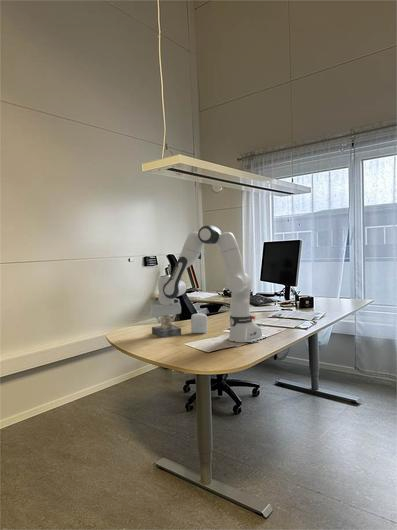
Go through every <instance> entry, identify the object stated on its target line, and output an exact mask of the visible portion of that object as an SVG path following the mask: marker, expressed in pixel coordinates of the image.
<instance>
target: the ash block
mask: <svg viewBox="0 0 397 530" xmlns="http://www.w3.org/2000/svg"><path fill="white" fill-rule="evenodd" d="M160 320H161V323H160V326H161V328H163V329H168V328H172V325H173V324H172V321H171V317H169V316H168V317H160ZM171 324H172V325H171Z"/></svg>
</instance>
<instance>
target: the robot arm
mask: <svg viewBox="0 0 397 530" xmlns="http://www.w3.org/2000/svg"><path fill="white" fill-rule="evenodd" d="M206 244H207V245H217V246H218V247H217V248H219V251H220V255H221V259H222V262H223V265H224V271H225V279H226V287H227V289H228V291H229V292H231V297H230V303H229V304H230V307H229V309H230V315H229V323H230V324H229V326H230V329H229V335H228V339H229V340H228V341H229V342H233V341H235V342H234V343H245V342H251V343H254V342H253V341H255V342H258V341H261V340H260V339H262V340H264V339H263V338H265V337H266V338H267V336H266V335H265V336H262V334H263V331H262V328H261V326H259V325H258V324H256V323H255V322H254V321H253V320H256V318H257V316H255V315H250V314H251V313H250V298H251V290H252V289H251V288H252V287H251V286H252V278H251V276H250V274H248V273H246V272H245V270H244V261H243V258H242V254H241V251H240V247H239V244H238V241H237V239H236V237H235V235H234V234H233V233H232V232H230V231H225V232H223V230H222V229H221V228H220V227H218V226H215V225H211V224H210V225H207V224H206V225H203V226H201V227H200V228H199V230H198V231H195V230H194V231H191V232H190V233H189V234H188V235H187V237H186V239H185V241H184V243H183V247H182V249H181V251H180V255H179V256H178V259H177V261H176V263H175V265H174V267H173V270H172V272H171V274H165V275H161V276H159V278H158V280H157V290H158V297H157V301H152V302H150V304H149V308H150V309H149V310H150V311H149V315H150V316H151V317H152V318H155V319H156V321H157V324H161V319H159V318H160V317H163V316H171V315H172V318H171V317H170V318H171V323H172V322H175V318H176V317H177V315H180V314H181V313H182V306H181V301H180V299H179V298H177V297H180V296H182V295H184V294H185V293H186V292H187V287H188V286H187V284H186V283H185V281H184V280H182V277H183V275H184V272H185V271H186V270H188V268H189V267H190V266H192V265H193V264H195V263H196V262H197V260H198V259H199V257H200V255H201V252H202V250H203V247H204V246H205V245H206ZM266 338H265V339H266ZM257 340H258V341H257Z"/></svg>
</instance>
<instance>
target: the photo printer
mask: <svg viewBox="0 0 397 530" xmlns="http://www.w3.org/2000/svg"><path fill="white" fill-rule="evenodd" d="M190 320H191V321H190V322H191V323H190V325H191V327H190V328H191V331H190V333H191V334H208V316H207V314H205V313H194V314H191V318H190Z"/></svg>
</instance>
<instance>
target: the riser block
mask: <svg viewBox="0 0 397 530" xmlns="http://www.w3.org/2000/svg"><path fill="white" fill-rule="evenodd" d="M171 325H172V328H168V329H163V328H161V325H159V326H152V327H151V334H153V335H154V336H156V337H158V338H160V339H162V338H170V337H174V336H182V328H180V327H178V326H177V325H174V324H172V323H171Z"/></svg>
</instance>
